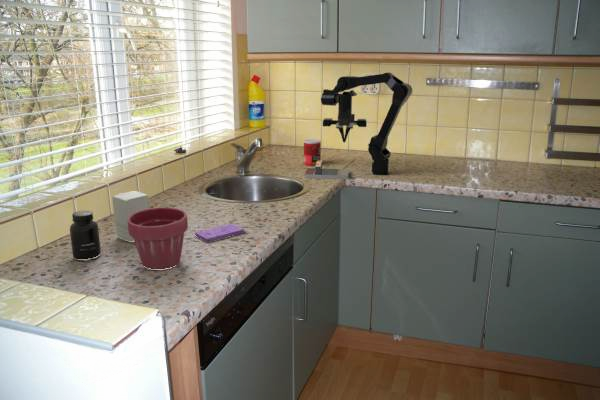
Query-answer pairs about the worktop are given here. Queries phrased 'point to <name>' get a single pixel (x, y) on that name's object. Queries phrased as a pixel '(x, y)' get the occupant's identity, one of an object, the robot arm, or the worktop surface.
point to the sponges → (219, 232)
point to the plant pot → (158, 235)
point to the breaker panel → (326, 172)
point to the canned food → (312, 151)
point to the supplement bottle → (84, 235)
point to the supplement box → (127, 210)
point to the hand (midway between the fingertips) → (344, 142)
